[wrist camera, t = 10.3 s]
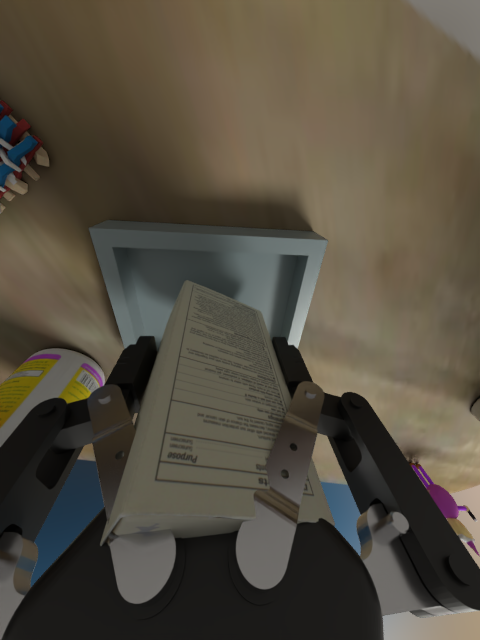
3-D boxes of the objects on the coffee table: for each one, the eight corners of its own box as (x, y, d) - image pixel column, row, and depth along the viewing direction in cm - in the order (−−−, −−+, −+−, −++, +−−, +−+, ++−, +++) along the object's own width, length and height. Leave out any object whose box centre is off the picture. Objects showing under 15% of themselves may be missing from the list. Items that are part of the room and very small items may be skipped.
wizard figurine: (386, 463, 40) (442, 560, 30) (399, 455, 38) (462, 555, 28) (430, 468, 42) (494, 558, 33) (443, 461, 41) (515, 553, 31)
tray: (313, 231, 16) (328, 240, 14) (283, 355, 22) (290, 373, 20) (107, 219, 14) (88, 227, 12) (141, 355, 21) (132, 375, 19)
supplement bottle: (22, 376, 21) (-177, 580, 11) (42, 332, 19) (-194, 545, 8) (93, 400, 24) (-8, 581, 13) (119, 365, 21) (19, 555, 11)
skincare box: (165, 325, 16) (77, 568, 6) (186, 274, 14) (106, 517, 4) (239, 350, 18) (262, 566, 8) (267, 310, 16) (343, 531, 6)
